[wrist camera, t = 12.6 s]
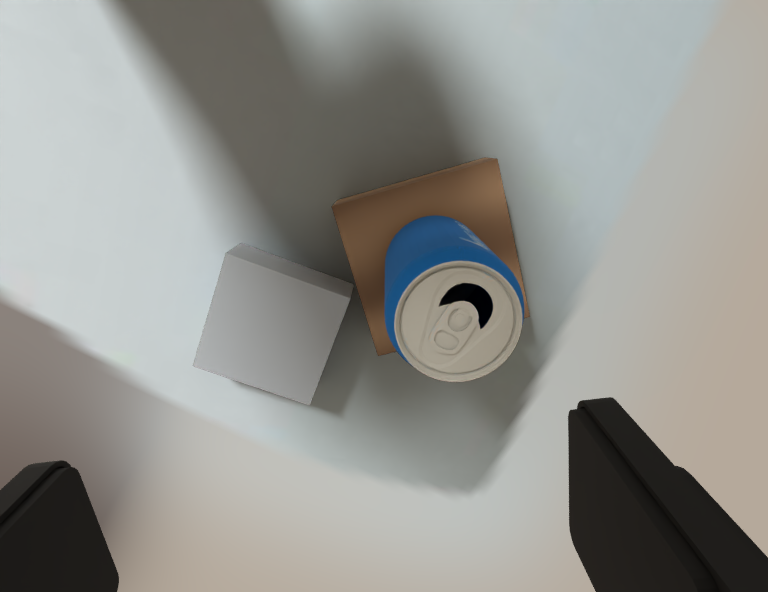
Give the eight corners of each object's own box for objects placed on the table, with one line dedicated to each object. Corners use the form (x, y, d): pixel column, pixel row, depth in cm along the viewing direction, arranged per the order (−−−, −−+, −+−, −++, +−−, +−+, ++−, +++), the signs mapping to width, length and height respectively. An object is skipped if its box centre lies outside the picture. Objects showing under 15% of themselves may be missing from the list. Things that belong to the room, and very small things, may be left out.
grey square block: (242, 242, 37) (225, 253, 33) (354, 283, 38) (350, 298, 34) (211, 344, 39) (192, 366, 35) (316, 381, 40) (309, 405, 36)
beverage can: (499, 244, 32) (562, 298, 21) (448, 323, 34) (480, 413, 22) (416, 195, 31) (434, 223, 20) (367, 279, 33) (357, 349, 22)
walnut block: (337, 200, 35) (331, 206, 32) (484, 157, 34) (497, 158, 31) (378, 335, 38) (378, 356, 35) (515, 299, 38) (529, 316, 34)
